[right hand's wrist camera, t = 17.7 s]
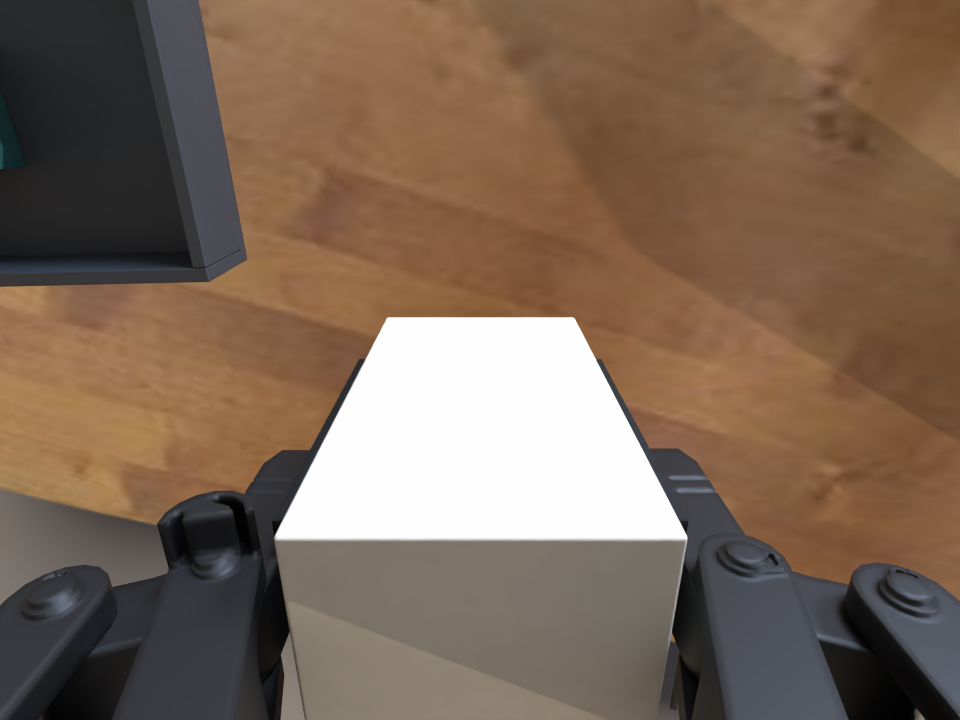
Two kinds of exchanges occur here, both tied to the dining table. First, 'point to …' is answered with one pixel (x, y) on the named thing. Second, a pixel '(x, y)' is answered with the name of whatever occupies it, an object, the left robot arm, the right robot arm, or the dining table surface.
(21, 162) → the teal block
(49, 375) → the dining table surface
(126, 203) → the handled tray
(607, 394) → the cream block
